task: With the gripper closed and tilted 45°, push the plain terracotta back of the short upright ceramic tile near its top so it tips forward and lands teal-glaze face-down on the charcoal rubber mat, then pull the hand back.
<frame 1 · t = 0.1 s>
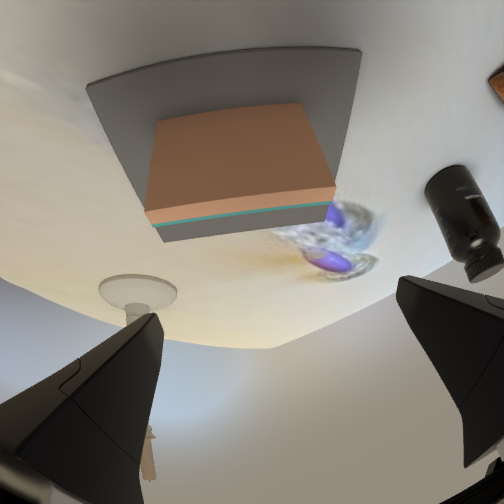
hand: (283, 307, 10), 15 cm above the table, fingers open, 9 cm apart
supplement bottle: (445, 181, 29), on the table
tile: (229, 117, 19), resting on mat
mat: (235, 161, 24), on the table
candlestick: (137, 290, 44), on the table
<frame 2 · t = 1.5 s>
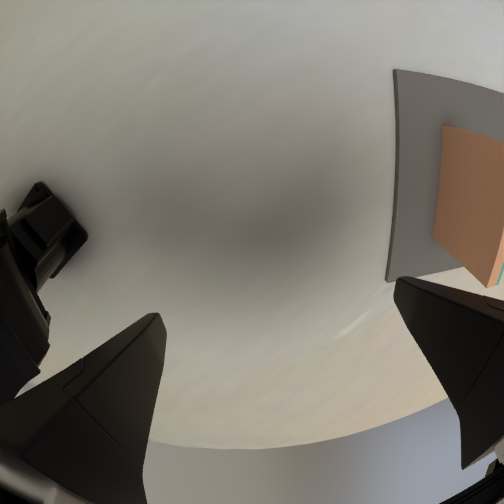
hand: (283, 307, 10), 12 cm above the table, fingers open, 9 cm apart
tile: (445, 183, 20), resting on mat
mat: (478, 181, 21), on the table
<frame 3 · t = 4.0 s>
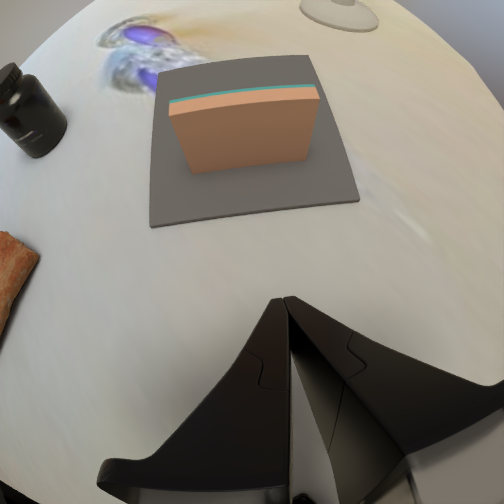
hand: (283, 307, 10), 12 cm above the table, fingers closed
supplement bottle: (48, 137, 29), on the table
tile: (248, 159, 25), resting on mat
mat: (242, 121, 27), on the table
candlestick: (339, 13, 34), on the table
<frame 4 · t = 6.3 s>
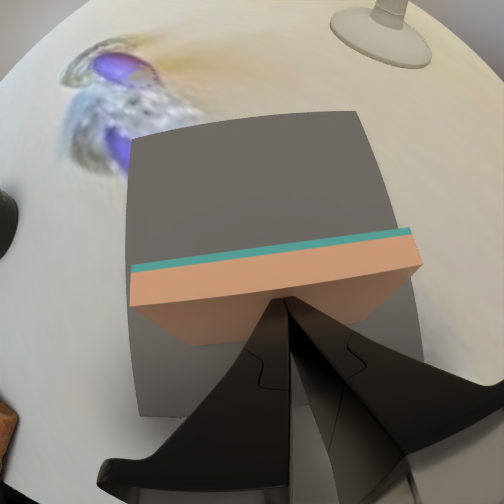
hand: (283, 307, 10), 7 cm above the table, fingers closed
tile: (276, 323, 16), point 1 cm above the table, tilted 11°, touching mat
mat: (264, 244, 19), on the table
candlestick: (381, 38, 26), on the table
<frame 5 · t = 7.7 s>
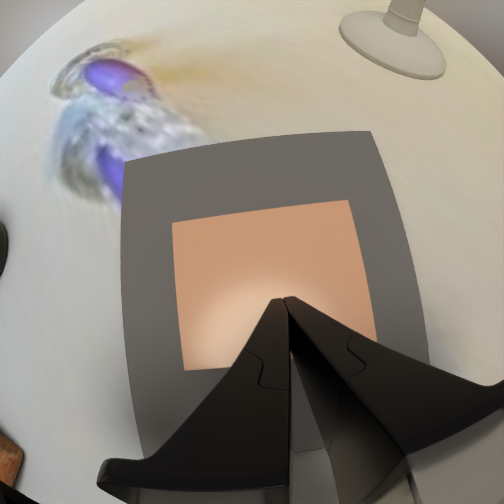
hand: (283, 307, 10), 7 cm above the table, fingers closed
tile: (282, 358, 15), point 1 cm above the table, tilted 90°, touching mat
mat: (271, 286, 17), on the table
candlestick: (393, 44, 24), on the table
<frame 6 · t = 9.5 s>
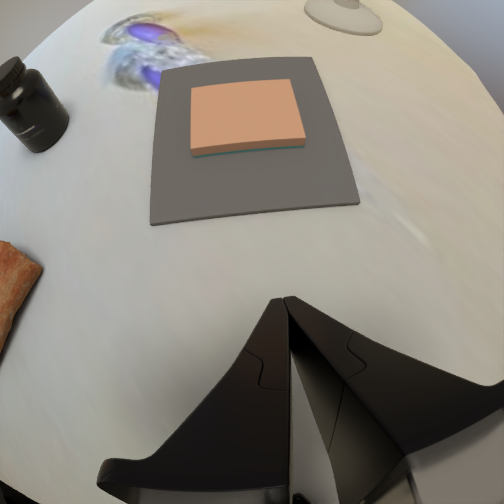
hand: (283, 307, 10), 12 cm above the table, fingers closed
supplement bottle: (49, 132, 28), on the table
tile: (248, 146, 25), point 1 cm above the table, tilted 90°, touching mat
mat: (244, 121, 27), on the table
candlestick: (343, 16, 34), on the table
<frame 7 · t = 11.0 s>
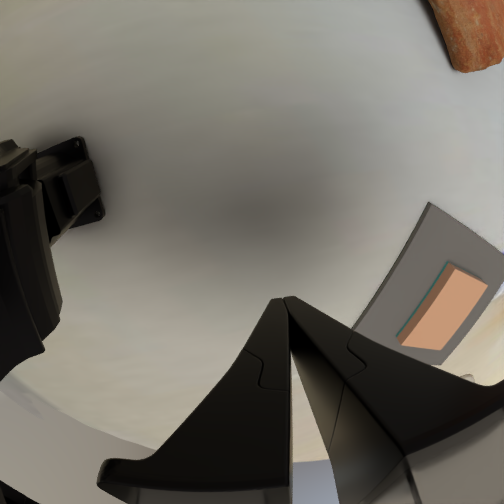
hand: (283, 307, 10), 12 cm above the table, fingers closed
tile: (424, 305, 26), point 1 cm above the table, tilted 90°, touching mat
mat: (439, 304, 28), on the table
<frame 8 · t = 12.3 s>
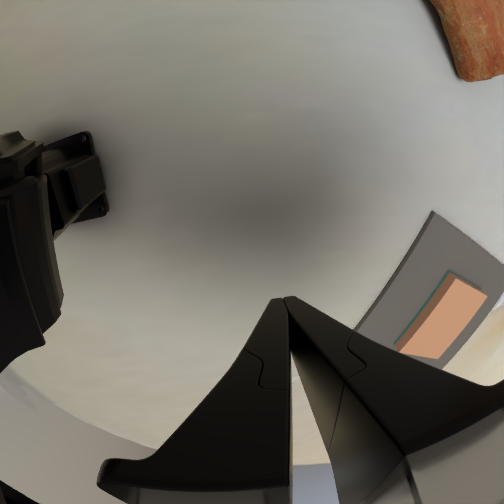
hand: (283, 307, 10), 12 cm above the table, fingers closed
tile: (424, 313, 26), point 1 cm above the table, tilted 90°, touching mat
mat: (438, 313, 28), on the table
ceramic shard: (469, 0, 12), on the table
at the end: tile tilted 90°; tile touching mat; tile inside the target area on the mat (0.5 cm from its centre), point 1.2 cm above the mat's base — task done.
